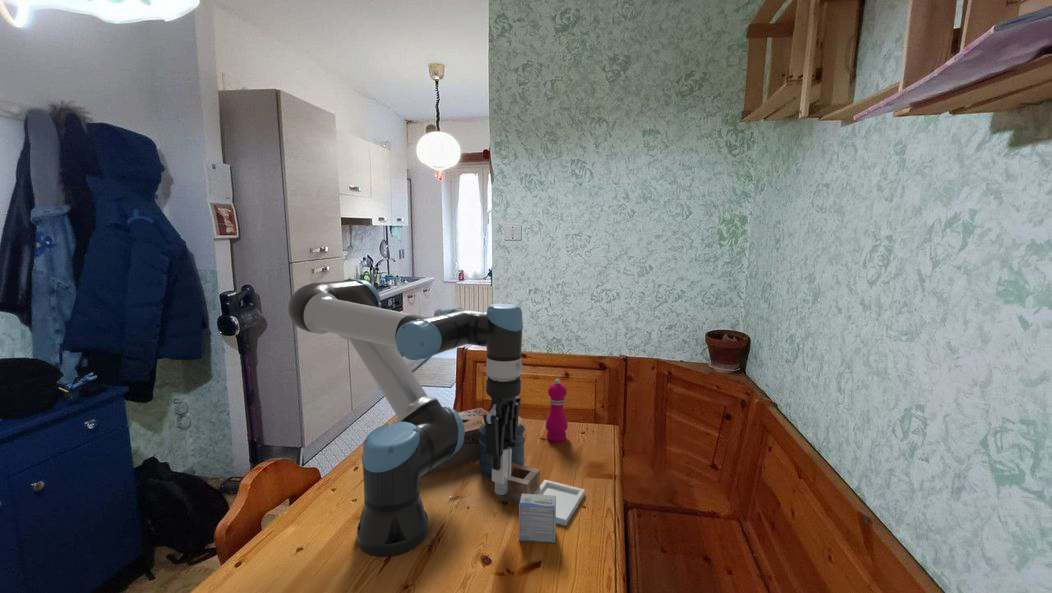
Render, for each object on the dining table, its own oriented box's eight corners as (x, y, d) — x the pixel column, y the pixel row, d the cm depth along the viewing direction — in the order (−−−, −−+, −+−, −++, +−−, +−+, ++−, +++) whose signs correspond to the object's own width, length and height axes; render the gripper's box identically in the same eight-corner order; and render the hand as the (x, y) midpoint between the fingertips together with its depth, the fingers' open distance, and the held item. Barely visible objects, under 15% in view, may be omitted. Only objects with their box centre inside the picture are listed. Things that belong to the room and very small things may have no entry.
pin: (492, 492, 101) (493, 450, 99) (498, 486, 103) (499, 445, 102) (503, 496, 100) (504, 453, 98) (509, 489, 102) (510, 447, 101)
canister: (496, 485, 120) (496, 421, 118) (470, 465, 130) (469, 406, 128) (533, 469, 128) (534, 409, 126) (506, 452, 138) (506, 397, 136)
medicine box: (555, 531, 102) (556, 494, 101) (554, 544, 97) (555, 506, 96) (520, 528, 102) (521, 492, 101) (518, 541, 98) (518, 504, 97)
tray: (522, 513, 108) (522, 507, 108) (544, 484, 121) (544, 479, 120) (565, 525, 103) (566, 519, 103) (584, 494, 116) (584, 489, 116)
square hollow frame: (497, 499, 114) (497, 477, 113) (512, 484, 121) (512, 462, 120) (526, 507, 110) (527, 484, 109) (539, 491, 117) (540, 469, 117)
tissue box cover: (481, 436, 150) (481, 407, 149) (502, 454, 138) (502, 422, 137) (404, 455, 137) (403, 423, 135) (420, 477, 124) (419, 442, 123)
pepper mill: (571, 436, 150) (572, 378, 148) (560, 444, 144) (562, 384, 141) (552, 431, 154) (553, 374, 151) (541, 439, 148) (542, 380, 145)
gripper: (502, 389, 89) (499, 500, 92) (534, 369, 103) (531, 466, 107) (469, 383, 92) (468, 491, 96) (505, 364, 106) (502, 458, 110)
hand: (501, 477), depth 101 cm, fingers closed on pin, 3 cm apart
